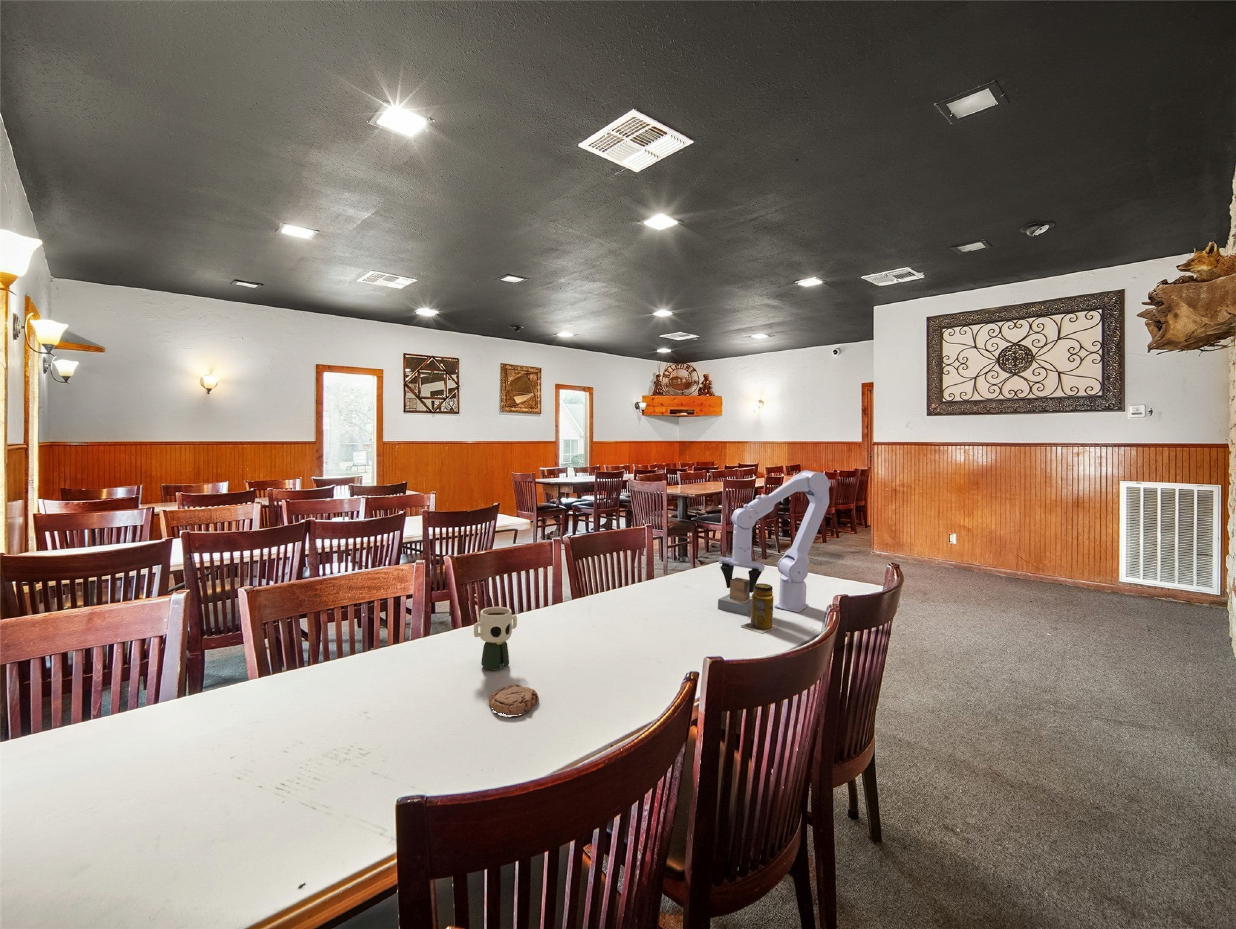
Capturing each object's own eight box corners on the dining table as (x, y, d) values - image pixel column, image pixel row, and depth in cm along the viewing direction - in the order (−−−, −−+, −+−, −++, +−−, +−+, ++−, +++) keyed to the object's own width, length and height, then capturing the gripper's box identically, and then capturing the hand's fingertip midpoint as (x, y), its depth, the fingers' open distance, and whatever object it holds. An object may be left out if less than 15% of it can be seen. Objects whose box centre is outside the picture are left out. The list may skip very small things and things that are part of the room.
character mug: (481, 677, 129) (481, 619, 128) (466, 667, 134) (466, 611, 133) (523, 665, 136) (524, 610, 135) (508, 656, 141) (509, 603, 141)
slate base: (732, 601, 192) (732, 592, 192) (760, 607, 186) (761, 598, 186) (717, 608, 184) (718, 598, 184) (747, 615, 178) (747, 605, 178)
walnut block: (736, 595, 188) (736, 577, 188) (749, 598, 185) (750, 579, 185) (729, 598, 184) (730, 579, 184) (743, 601, 182) (744, 582, 181)
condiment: (778, 627, 168) (780, 585, 167) (762, 633, 162) (763, 591, 162) (756, 620, 173) (758, 580, 173) (739, 626, 168) (741, 585, 167)
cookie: (489, 721, 111) (489, 706, 110) (487, 696, 121) (487, 682, 121) (542, 716, 113) (542, 701, 113) (536, 692, 123) (536, 678, 123)
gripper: (715, 545, 185) (713, 587, 186) (758, 552, 176) (756, 596, 177) (725, 542, 191) (723, 583, 192) (767, 548, 182) (766, 592, 183)
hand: (740, 589), depth 185 cm, fingers open, 7 cm apart
